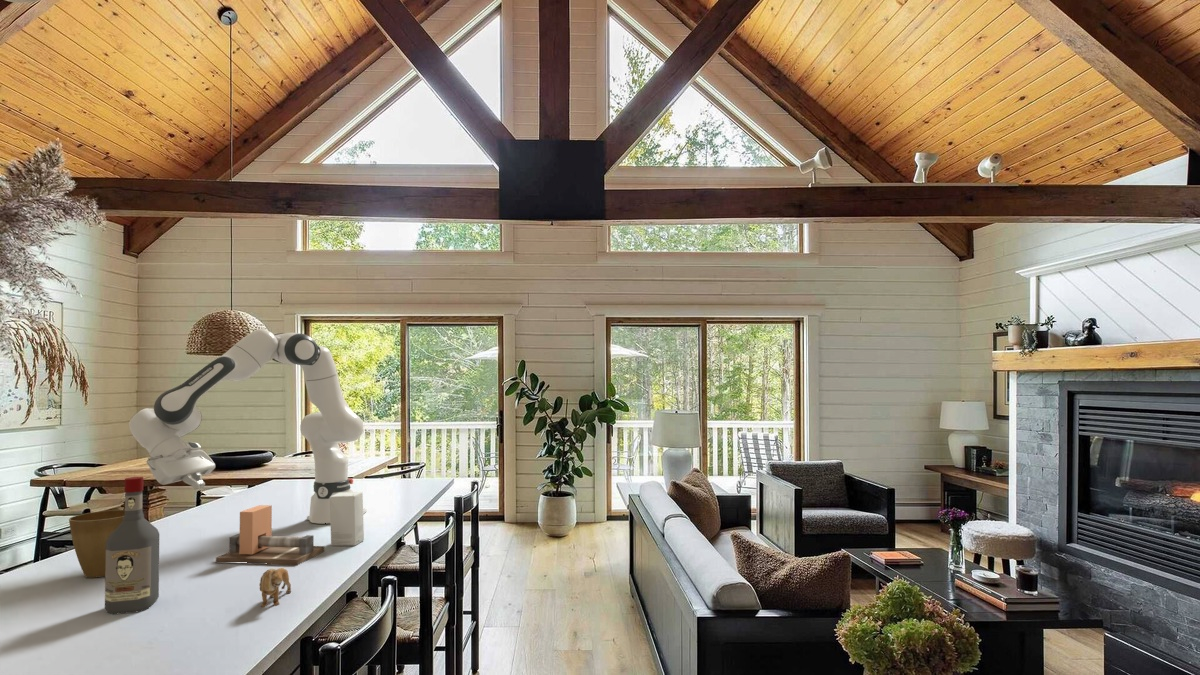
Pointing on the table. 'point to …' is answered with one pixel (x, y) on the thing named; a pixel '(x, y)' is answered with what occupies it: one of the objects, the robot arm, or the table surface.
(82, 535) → the plant pot
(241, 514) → the notched orange block
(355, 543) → the skincare box
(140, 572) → the liquor
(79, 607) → the table surface
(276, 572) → the lion figurine
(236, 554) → the pipe stand
